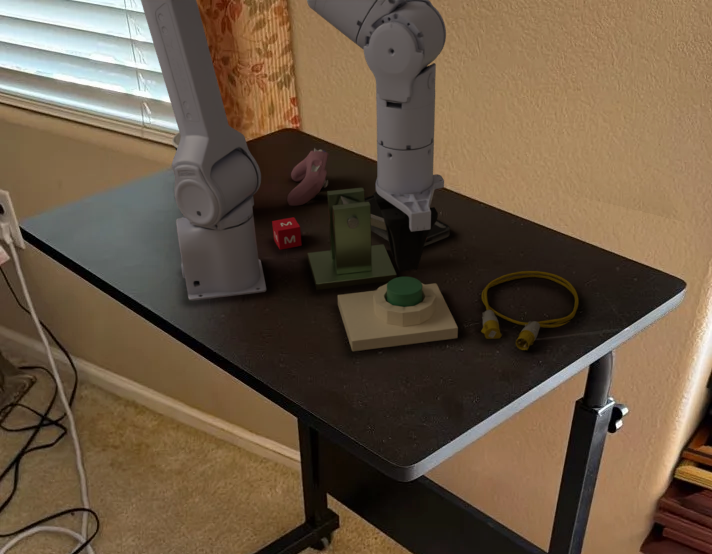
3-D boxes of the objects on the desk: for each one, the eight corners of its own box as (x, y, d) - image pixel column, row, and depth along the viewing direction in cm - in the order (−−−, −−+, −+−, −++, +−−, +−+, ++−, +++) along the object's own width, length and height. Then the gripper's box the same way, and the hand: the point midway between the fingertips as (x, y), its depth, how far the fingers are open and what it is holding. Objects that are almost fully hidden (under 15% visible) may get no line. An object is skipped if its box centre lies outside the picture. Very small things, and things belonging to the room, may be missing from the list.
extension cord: (437, 317, 103) (438, 302, 101) (525, 269, 110) (527, 254, 109) (518, 359, 96) (520, 344, 94) (606, 305, 103) (609, 290, 102)
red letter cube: (295, 237, 118) (294, 217, 116) (301, 247, 116) (300, 226, 114) (274, 241, 118) (272, 221, 116) (280, 252, 116) (277, 230, 114)
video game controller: (314, 218, 126) (333, 175, 122) (284, 205, 125) (303, 161, 120) (317, 188, 133) (336, 147, 129) (289, 176, 132) (307, 133, 128)
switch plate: (352, 353, 98) (351, 327, 95) (338, 307, 105) (336, 281, 103) (457, 340, 99) (458, 313, 97) (436, 295, 106) (436, 269, 104)
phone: (385, 190, 125) (453, 228, 116) (385, 198, 126) (453, 235, 117) (339, 206, 122) (406, 246, 113) (340, 214, 123) (406, 254, 114)
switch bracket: (383, 252, 115) (383, 179, 108) (396, 282, 109) (396, 208, 102) (307, 261, 114) (302, 188, 107) (316, 292, 108) (311, 217, 101)
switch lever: (417, 243, 112) (428, 221, 110) (423, 255, 110) (434, 232, 108) (331, 214, 107) (341, 190, 105) (335, 226, 105) (345, 202, 103)
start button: (390, 310, 98) (390, 296, 97) (383, 292, 101) (383, 278, 100) (425, 305, 99) (426, 292, 97) (417, 288, 102) (417, 274, 100)
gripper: (463, 164, 83) (457, 291, 92) (427, 109, 93) (424, 228, 103) (390, 171, 82) (390, 299, 91) (362, 116, 93) (365, 235, 102)
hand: (404, 262), depth 97 cm, fingers closed
